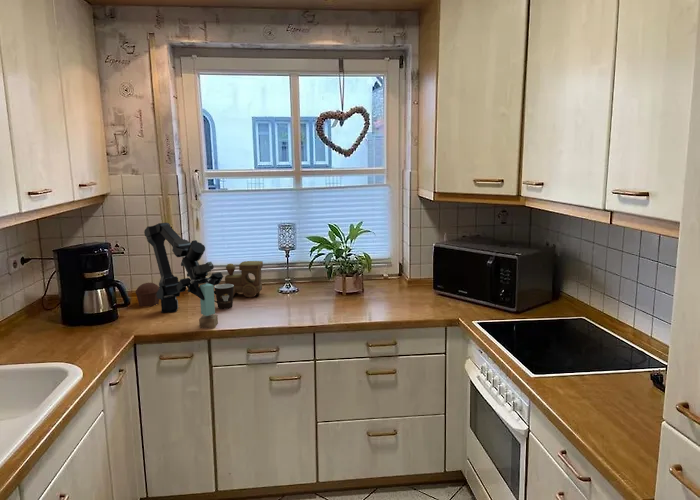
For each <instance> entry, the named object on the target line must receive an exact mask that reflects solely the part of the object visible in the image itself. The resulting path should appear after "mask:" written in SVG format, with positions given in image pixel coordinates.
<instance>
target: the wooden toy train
mask: <svg viewBox="0 0 700 500" xmlns="http://www.w3.org/2000/svg"><path fill="white" fill-rule="evenodd" d="M263 267H264V261H261V260H245V261H244V260H243V261H242V262H240V263H239V265H238V268H239V271H240V272H241V273H236V274H235V270H236V267H235V265H234V264H233V263H227V265H226V266H225V270H226V271H227V273H228V274H226V275H225V276H224V284H232V285H234V290H233V297H234V296H235V295H236V294H242V295H244V296H245V298H249V299H251V298H254V297H255V296H256V295H257V294H259V293H261V291H262V290H263V284H262V269H263ZM250 274H252V275H253V276H254V279H251V278H250V276H249V275H250Z"/></svg>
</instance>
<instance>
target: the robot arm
mask: <svg viewBox="0 0 700 500" xmlns="http://www.w3.org/2000/svg"><path fill="white" fill-rule="evenodd" d="M143 232H144V236H145V238H146V241H147V242H148V243H149V245H151V246H152V248H153V252H154V257H155V259H156V260H155V261H156V264H157V266H158V271H159V274H160V279H159V281H158V286H159V289H158V291H157V293H156V295H157V298H158V299H159V300H160V306H161V311H160V313H161V314H162V313H163V314H165V313H176V312H177V310H178V309H179V300H178V299H177V297H178V298H179V297H180V295H181V293H183V292H184V293H185V292H186V291H187V293H191V294H193V295H195V296H196V297H198V298H199V299H202V300H205V298H204V295H203V293H202V292H201V290H200V287H199V285H203V284H208V283H209V284H212V285H214V286H216V285H220V283H221V281H222V280H223V279H224V274H223V273H222V272H220V271H218V272H213V273H211V274H210V275H209V272H211V271H212V270H214V268H215V267H214V263H213V262H212V261H207V262H206V263H202V264H200V262H199V261H200V260H201V258H202V256H203V255H204V252H205V251H206V247H205V245H204V244H202V243H201V242H198V240H191V242H190V241H189V240H187V239H184V238H182V237H180V235H179V234H178V233H177V232H176V231H175V230H174V229H173V228H172V227H171V225H170V223H169V222H159V223H156V224H155V225H149V226H146V227H145V229H144V231H143ZM165 240H166V241H167V242H168V244H169V245H171V247H172V253H173V254H174V255H175V257H176V258H182V259H181V262H180V266H181V267H184V269H185V271H186V276H187V277H185V278H180V279H179V277H178V276H175V275H174V274H173V272H172V268H171V265H170V261H169V257H168V254H167V250H166V246H165V242H166V241H165ZM208 275H209V276H208ZM207 276H208V277H207ZM214 298H216V295H214Z"/></svg>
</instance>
